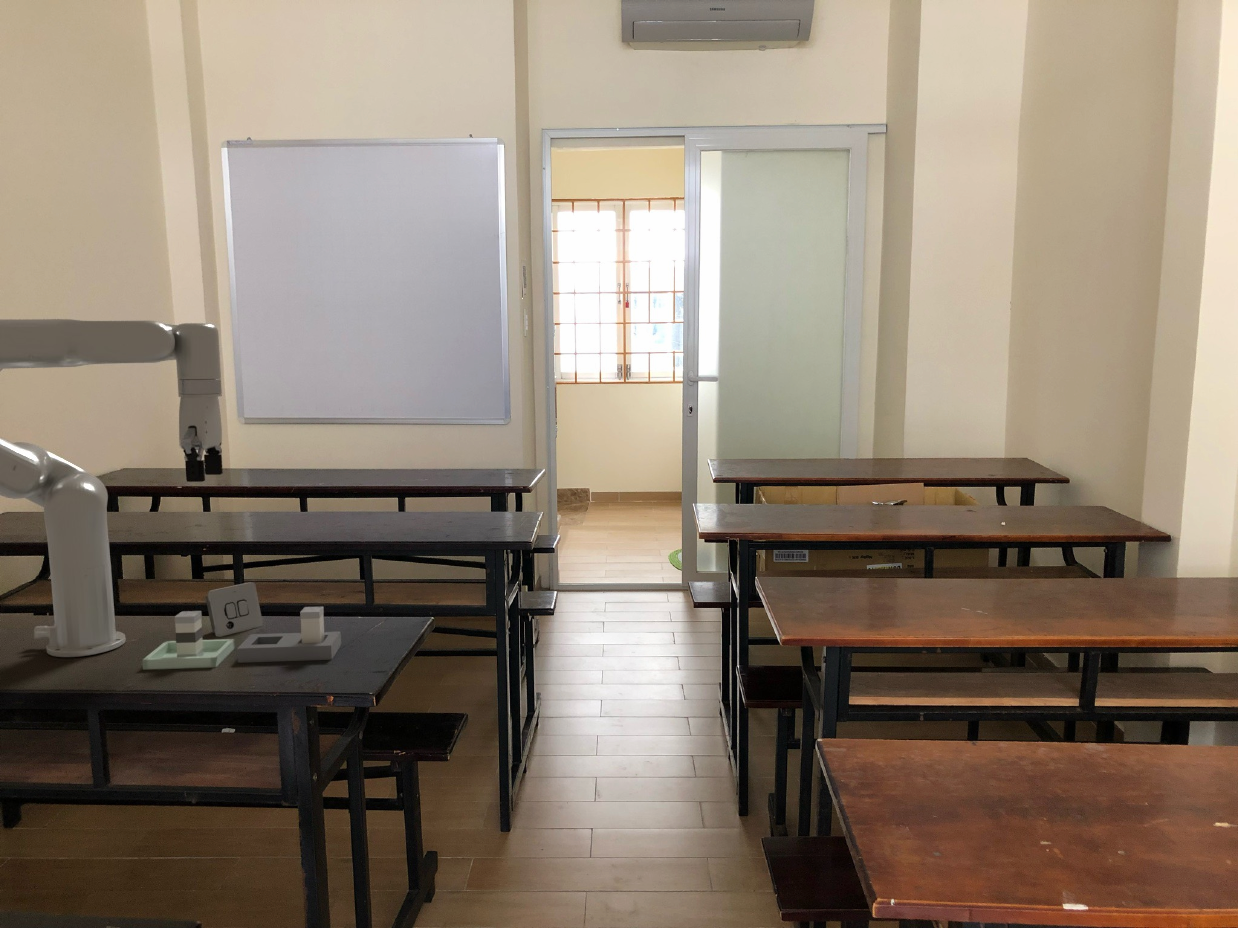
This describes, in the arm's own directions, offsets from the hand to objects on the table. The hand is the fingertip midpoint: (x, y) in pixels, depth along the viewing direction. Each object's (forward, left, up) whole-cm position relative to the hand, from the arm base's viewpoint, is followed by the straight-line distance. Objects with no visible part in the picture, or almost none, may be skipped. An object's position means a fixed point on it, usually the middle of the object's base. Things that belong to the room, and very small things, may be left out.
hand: (205, 477), depth 172 cm
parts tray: (+2, -18, -30) cm, 35 cm away
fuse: (+23, -17, -30) cm, 41 cm away
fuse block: (+19, -17, -30) cm, 40 cm away
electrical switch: (+4, -1, -31) cm, 31 cm away
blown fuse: (+2, -18, -30) cm, 35 cm away
